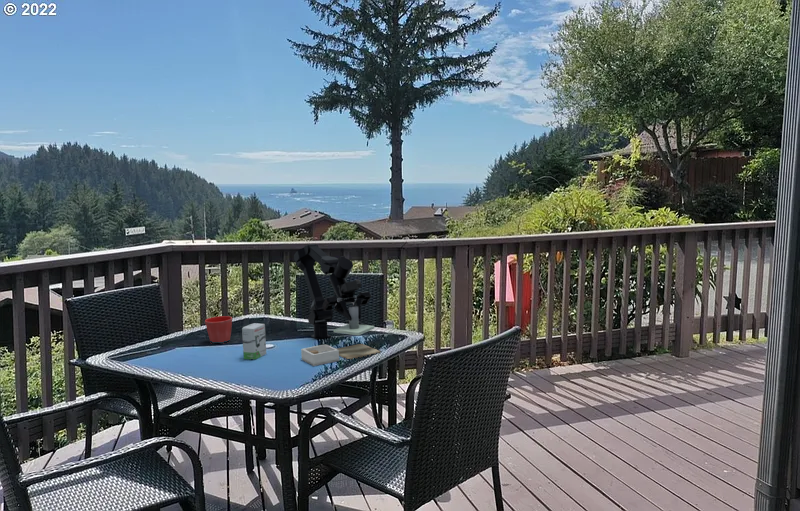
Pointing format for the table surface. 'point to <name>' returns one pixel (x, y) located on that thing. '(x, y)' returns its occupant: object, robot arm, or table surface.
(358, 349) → the tan wooden square board
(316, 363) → the storage box
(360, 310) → the robot arm
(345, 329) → the lid
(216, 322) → the flower pot
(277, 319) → the table surface
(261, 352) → the ink box
